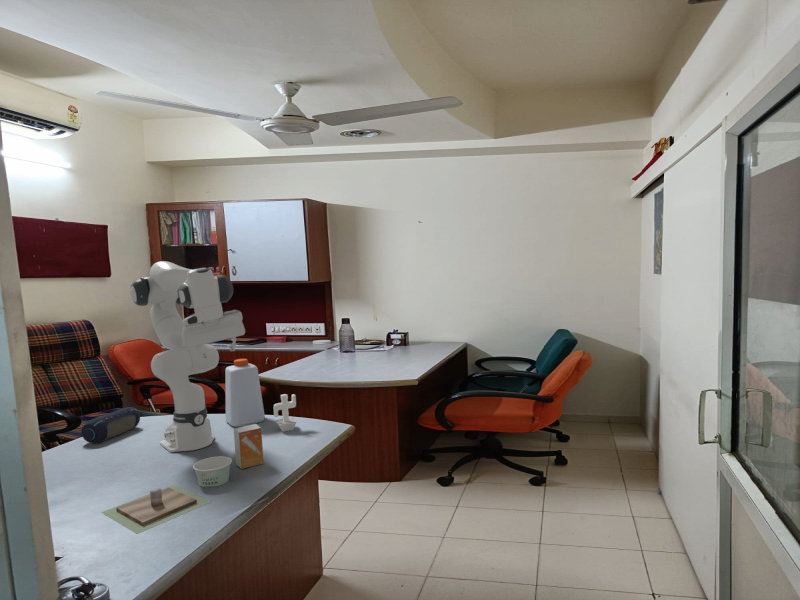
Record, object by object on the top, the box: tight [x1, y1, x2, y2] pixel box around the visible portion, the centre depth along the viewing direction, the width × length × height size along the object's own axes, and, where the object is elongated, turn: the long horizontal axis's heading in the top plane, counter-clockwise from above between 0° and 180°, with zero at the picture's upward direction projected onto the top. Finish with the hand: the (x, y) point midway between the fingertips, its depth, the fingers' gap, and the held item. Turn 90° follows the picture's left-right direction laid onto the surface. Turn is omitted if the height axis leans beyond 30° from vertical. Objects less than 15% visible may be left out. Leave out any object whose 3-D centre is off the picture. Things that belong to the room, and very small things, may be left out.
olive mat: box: [101, 484, 212, 535], centre depth 156 cm, size 22×22×1 cm
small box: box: [233, 423, 265, 470], centre depth 187 cm, size 8×6×13 cm
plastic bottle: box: [224, 358, 265, 428], centre depth 238 cm, size 15×15×28 cm
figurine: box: [273, 393, 297, 433], centre depth 223 cm, size 7×9×15 cm
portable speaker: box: [80, 406, 141, 444], centre depth 228 cm, size 25×10×10 cm, turn 162°
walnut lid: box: [115, 487, 197, 526], centre depth 156 cm, size 16×16×5 cm
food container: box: [192, 455, 233, 488], centre depth 173 cm, size 12×12×6 cm
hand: (218, 354), depth 182 cm, fingers open, 8 cm apart
